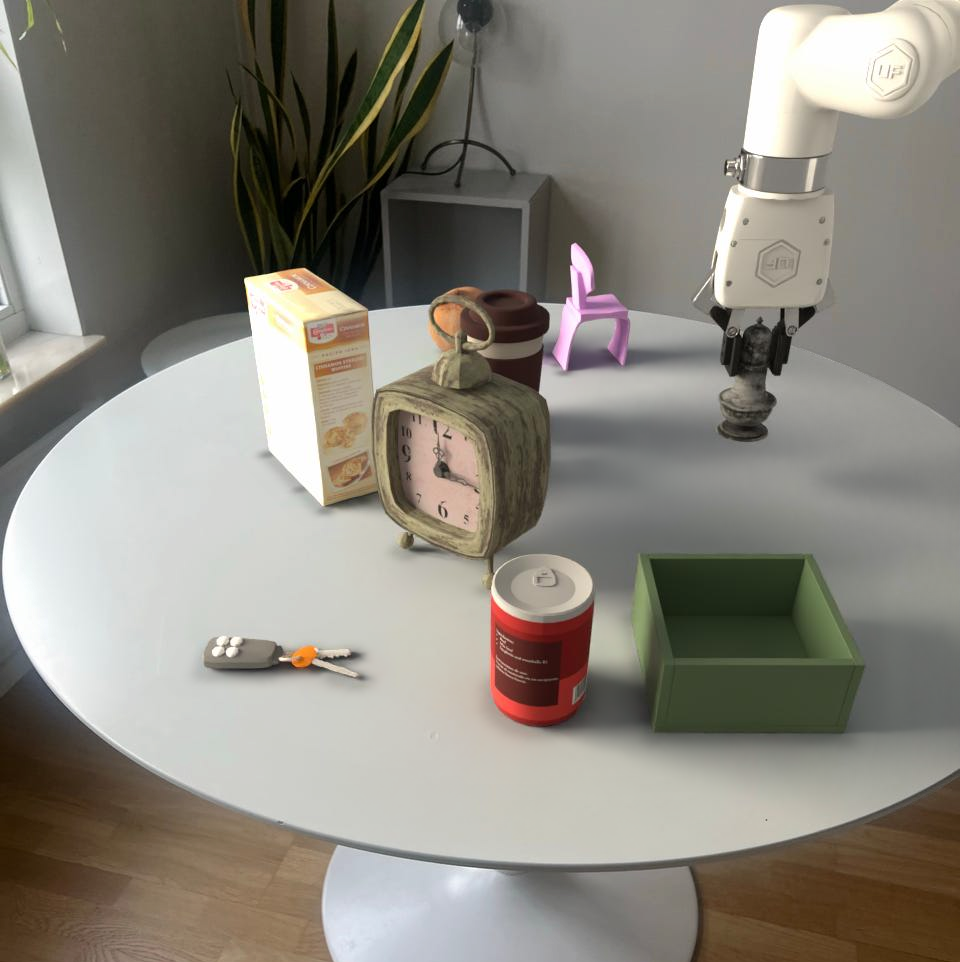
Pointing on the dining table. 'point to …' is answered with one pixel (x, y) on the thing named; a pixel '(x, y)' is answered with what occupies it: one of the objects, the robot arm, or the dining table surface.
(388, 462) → the tabletop clock
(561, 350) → the toy chair
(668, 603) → the green planter box
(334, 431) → the coffeecake box
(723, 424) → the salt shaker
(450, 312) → the onion
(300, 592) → the dining table surface
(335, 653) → the key chain
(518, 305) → the coffee cup
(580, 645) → the canned food
